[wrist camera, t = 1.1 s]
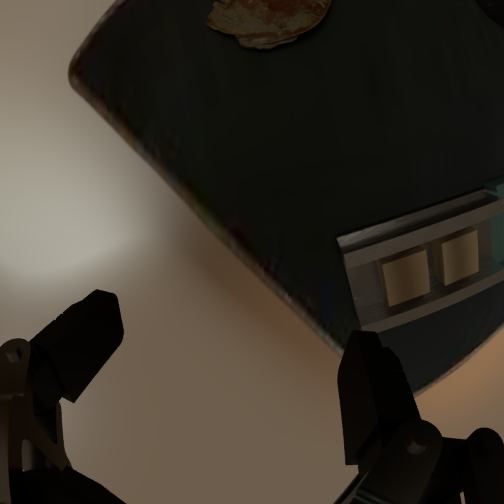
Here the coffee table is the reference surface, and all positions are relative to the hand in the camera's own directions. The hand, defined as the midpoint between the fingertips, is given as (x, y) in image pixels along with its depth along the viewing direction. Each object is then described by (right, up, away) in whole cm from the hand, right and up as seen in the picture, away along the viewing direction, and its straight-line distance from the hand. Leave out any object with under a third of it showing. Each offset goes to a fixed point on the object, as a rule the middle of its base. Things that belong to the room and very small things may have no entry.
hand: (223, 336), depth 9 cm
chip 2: (+24, +3, +17) cm, 29 cm away
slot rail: (+21, +3, +18) cm, 28 cm away
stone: (+3, +28, +12) cm, 31 cm away
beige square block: (+17, +1, +19) cm, 25 cm away
